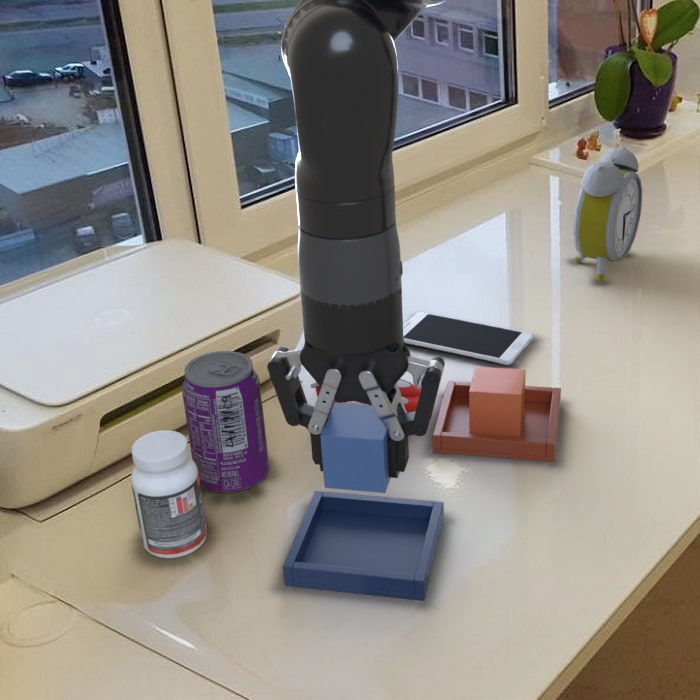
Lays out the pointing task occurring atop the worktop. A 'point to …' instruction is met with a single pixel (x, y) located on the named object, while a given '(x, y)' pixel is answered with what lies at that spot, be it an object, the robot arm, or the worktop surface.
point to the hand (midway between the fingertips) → (361, 468)
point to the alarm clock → (608, 209)
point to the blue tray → (366, 545)
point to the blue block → (355, 449)
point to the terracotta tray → (531, 445)
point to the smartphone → (465, 338)
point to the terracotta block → (497, 401)
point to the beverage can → (225, 421)
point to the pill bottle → (167, 495)
